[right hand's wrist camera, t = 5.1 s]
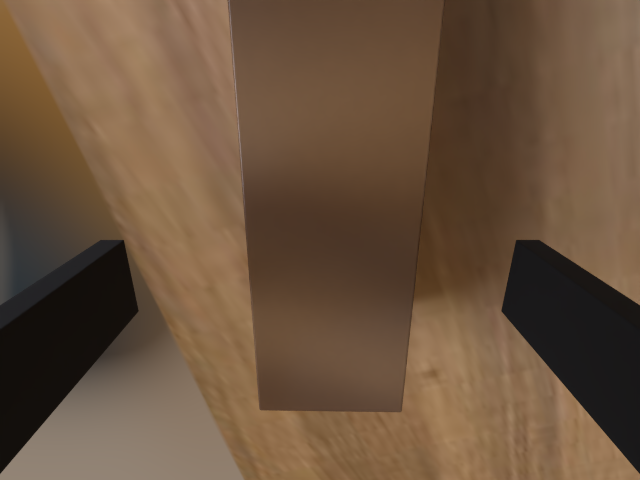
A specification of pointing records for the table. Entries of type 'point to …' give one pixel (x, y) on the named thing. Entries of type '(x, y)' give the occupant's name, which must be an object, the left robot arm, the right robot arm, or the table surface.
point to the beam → (333, 191)
